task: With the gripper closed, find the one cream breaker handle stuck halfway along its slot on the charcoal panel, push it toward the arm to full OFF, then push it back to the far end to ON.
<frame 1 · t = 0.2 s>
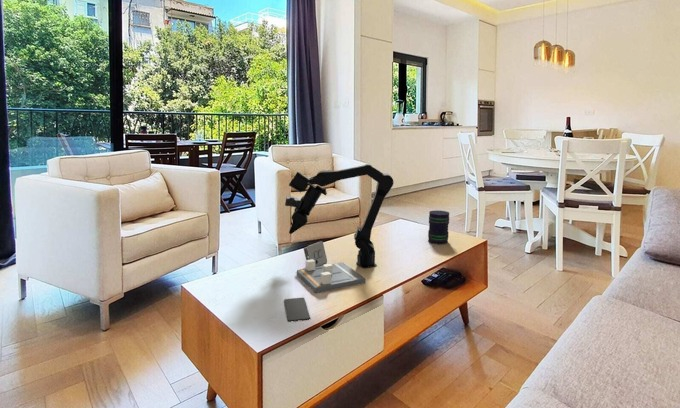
hand: (291, 230, 163), 15 cm above the table, tool tilted 30°, fingers open, 9 cm apart
electrical switch: (315, 265, 165), on the table
smartphone: (296, 311, 125), on the table
breaker panel: (330, 279, 149), on the table
handle 1: (310, 264, 153), point 4 cm above the table, slide at 8.0 cm
handle 2: (325, 278, 140), point 4 cm above the table, slide at 8.0 cm
storage jar: (437, 241, 198), on the table
handle middle: (327, 269, 148), point 4 cm above the table, slide at 4.0 cm
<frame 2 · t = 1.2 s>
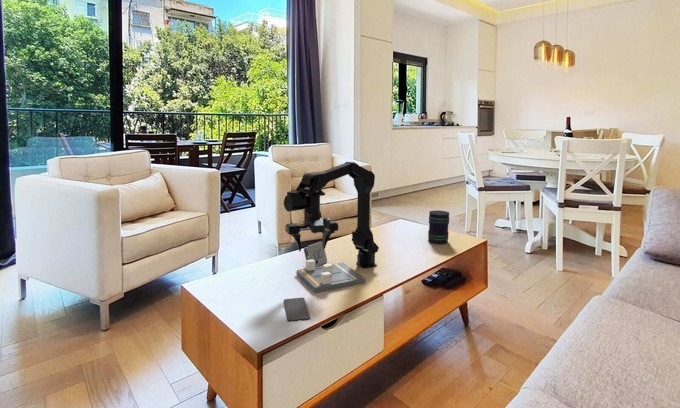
hand: (312, 249, 145), 12 cm above the table, tool pointing down, fingers open, 9 cm apart
nothing on the table moved.
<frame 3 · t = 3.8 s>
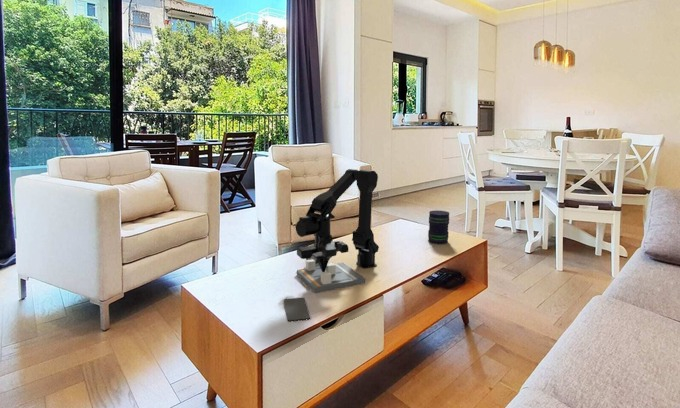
hand: (323, 271, 148), 3 cm above the table, tool pointing down, fingers closed
handle middle: (330, 269, 149), point 4 cm above the table, slide at 2.8 cm, touching gripper
everything else where it was.
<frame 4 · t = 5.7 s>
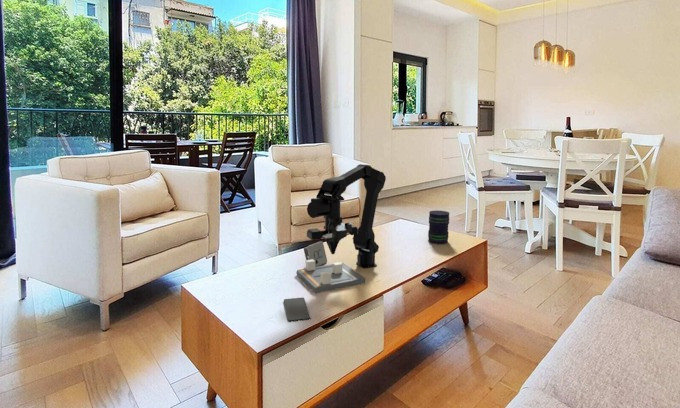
hand: (332, 254, 148), 10 cm above the table, tool pointing down, fingers closed
handle middle: (337, 267, 150), point 4 cm above the table, slide at -0.1 cm
everything else where it was.
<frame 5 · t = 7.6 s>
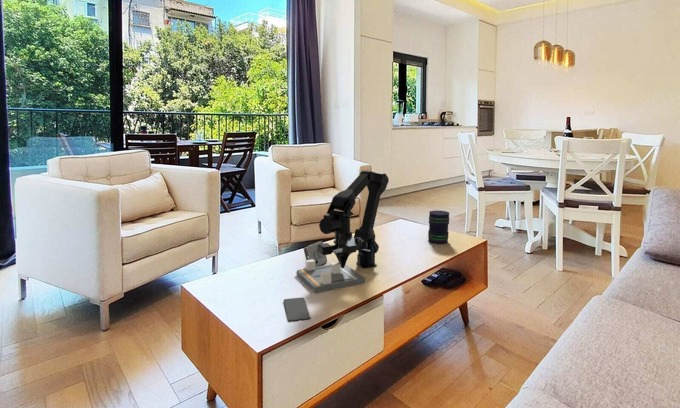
hand: (342, 267, 151), 4 cm above the table, tool pointing down, fingers closed
handle middle: (335, 268, 150), point 4 cm above the table, slide at 0.7 cm, touching gripper
everything else where it was.
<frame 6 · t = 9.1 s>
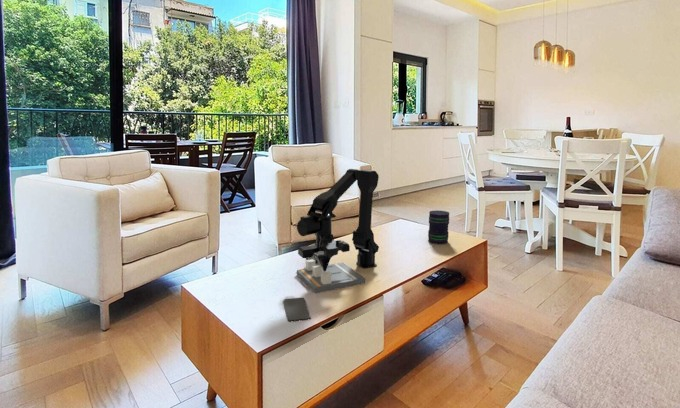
hand: (324, 271, 148), 4 cm above the table, tool pointing down, fingers closed
handle middle: (317, 271, 147), point 4 cm above the table, slide at 8.1 cm, touching gripper
everything else where it was.
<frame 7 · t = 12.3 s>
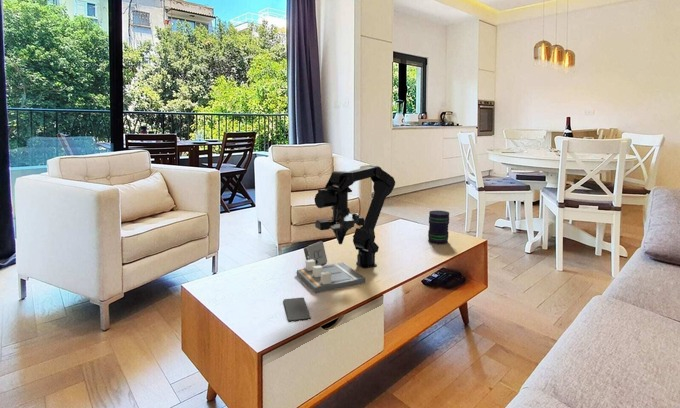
hand: (340, 244, 153), 12 cm above the table, tool pointing down, fingers closed
handle middle: (317, 271, 147), point 4 cm above the table, slide at 8.1 cm
everything else where it was.
at the end: handle middle slide at 8.1 cm; handle 1 slide at 8.0 cm; handle 2 slide at 8.0 cm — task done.
